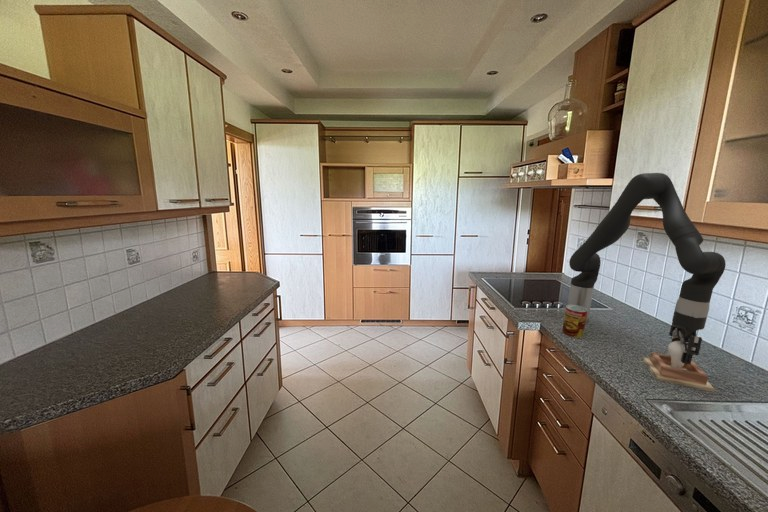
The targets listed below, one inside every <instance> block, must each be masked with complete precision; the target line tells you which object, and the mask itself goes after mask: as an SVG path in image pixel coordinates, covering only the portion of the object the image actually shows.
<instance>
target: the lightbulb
mask: <svg viewBox="0 0 768 512" xmlns="http://www.w3.org/2000/svg"><path fill="white" fill-rule="evenodd" d="M687 347H688V346H687ZM667 351H668V353H669V354H668V355H670V356H671V368H677V369H682V367H683V366H684V363H682V362H681V358H682V354H683V352H684V351H683V346H682V345H681V341H674V342H672V343H671V342H669V344H668V346H667Z"/></svg>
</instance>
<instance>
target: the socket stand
mask: <svg viewBox="0 0 768 512" xmlns="http://www.w3.org/2000/svg"><path fill="white" fill-rule="evenodd" d="M649 356H650V357H647V356H642V360H643V362H644V363H645V365H646V366H647V367H648V369H649V371H650V372H651V373H652V375H653V376H654V378H655V380H656V381H659V382H660V381H661V382H665V383H670V384H673V385H674V384H675V385H679V386H683V387H689V388H693V389H698V390H702V391H703V390H704V391H708V392H713V393H715V391H716V389H715V387H713V385H712V384H711V383H710V382H709V376H708V375H707V374H706V372H705V371H703V370H702V368H701V367H699V365H698V364H696V363H695V362H694V360H693V359H692V360H691V364H685V363H684V366H683V367H682V369H677V368H671V356H670V354H663V353H658V352H654V351H652V352H650V355H649Z"/></svg>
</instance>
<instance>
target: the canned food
mask: <svg viewBox="0 0 768 512" xmlns="http://www.w3.org/2000/svg"><path fill="white" fill-rule="evenodd" d="M587 311H588V310H587V309H586V308H584V307H582V306H578V305H568V304H566V305H565V311H564V318H563V322H562V323H563V324H562V331H561V332H562V334H563V335H565V336H567V337H569V336H570V337H569V338H573V337H575V339H581V337H582V338H583V337H584V333H585V328H586V324H587V322H586V317H587Z"/></svg>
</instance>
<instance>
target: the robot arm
mask: <svg viewBox="0 0 768 512" xmlns="http://www.w3.org/2000/svg"><path fill="white" fill-rule="evenodd" d="M674 185H675V184H673V182H672V180H671V177H669V176H668V175H667V174H666V173H663V172H651V173H650V172H647V173H646V172H645V173H640V174H636V175H635V176H633V177H632V178H631V179H630V180H629V182H628V183H627V185H626V186H625V188H624V190H623V191H622V192H621V193H620V196H619V197H618V199H617V201H616V202H615V203H614V205H613V206H612V207H611V209H609V211H608V213H607V214H606V215H605V216H604V218H603V219H602V220H601V221H600V222H599V224H598V225H597V226H596V228H595V229H594V230H593V232H592V233H591V234H590V236H588V238H587V239H585V241H584V242H583V244H581V245H580V246H579V247H578V248H577V249H576V250H575V251H574V252H573V254H572V255H571V257H570V259H569V267H570V270H572V271H574V272H579V273H578V275H575V276H573V277H571V280H570V284H569V285H570V286H569V293H568V300H567V305H578V306H582V307H584V308H586V309H587V310H588V311H587V317H586V323H588V322H589V317H590V312H591V305H592V299H593V295H594V289H595V288H594V287H595V285H596V283H597V280H598V277H599V272H600V270H601V269H600V268H601V261H602V260H601V257H600V255H599V254H598V253H599V252H601V251H602V250H604V249H605V248H607V247H609V246H611V245H613V244H614V243H617V241H619V240H620V239H621V237H622V236H623V235H624V234H625V233H627V231H628V229H629V228H630V225H631V217H632V216H631V215H632V212H633V211H634V210H635V209H636V208H637V207H638V205H639V204H640V203H641V202H643V201H644V200H654V201H655V202H656V204H657V205H658V206H659V207H660V209H661V213H662V228H663V229H664V232H665V234H666V235H667V237H668V238H669V240H670V241H671V243H672V244H673V246H674V248H675V254H676V255H677V260H678V263H679V265H680V266H681V268H682V269H683V270H684V271H685V272H687V273H689V274H691V275H692V276H691V277H690V278H688V279H686V280H684V281H683V282H682V284H681V287H680V291H679V295H678V299H677V301H676V303H675V306H674V307H675V308H674V312H673V316H672V322H671V326H670V329H669V332H668V333H669V334H668V336H670V341H671V342H670V343H672V342H674V341H681V345H682V346H683V351H684V352H683V354H682V358H681V362H682V363H685V364H691V360H692V361H693V356H698V355H700V350H701V345H702V341H703V338H702V337H701V336H697V331H699V330H704V329H705V326H706V323H707V319H708V314H709V311H710V303H711V299H712V295H713V289H714V288H715V287H716V286H717V284H718V283H719V281H720V279H721V277H722V276H723V274H724V272H725V271H726V267H727V266H726V259H725V258H724V256H723V255H722V254H721V253H719V252H715V251H703V250H702V248H701V246H700V245H701V244H702V243H703V242H704V238H703V235H702V234H701V232H700V231H699V230H698V229H697V227H696V226H695V224H694V223H693V221H691V219H690V217H689V215H688V214H687V212H686V210H685V208H684V206H683V205H682V202H681V199H680V197H679V195H678V193H677V190H676V188H675V186H674ZM687 346H688V347H687Z"/></svg>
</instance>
